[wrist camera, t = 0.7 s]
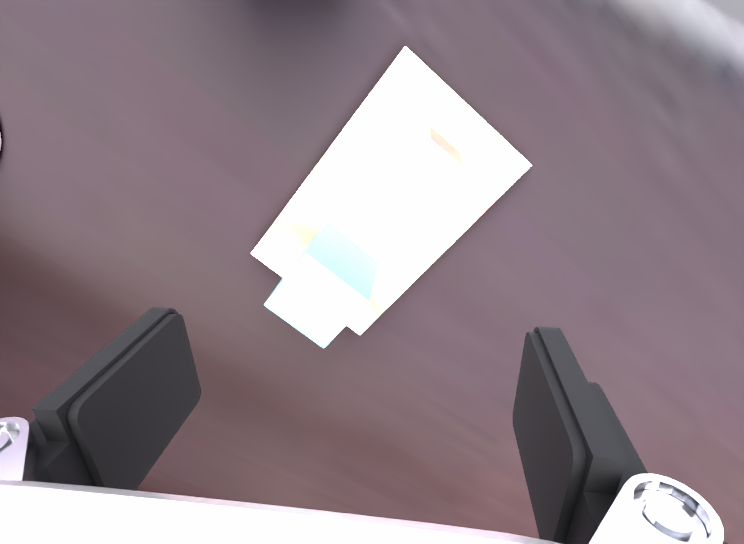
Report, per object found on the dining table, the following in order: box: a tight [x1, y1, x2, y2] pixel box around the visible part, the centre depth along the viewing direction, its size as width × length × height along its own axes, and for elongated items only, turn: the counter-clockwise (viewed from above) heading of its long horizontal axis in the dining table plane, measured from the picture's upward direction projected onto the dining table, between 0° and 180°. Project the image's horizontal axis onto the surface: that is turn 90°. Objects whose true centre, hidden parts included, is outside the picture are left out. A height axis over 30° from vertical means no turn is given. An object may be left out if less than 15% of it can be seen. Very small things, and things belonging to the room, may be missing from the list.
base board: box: [251, 46, 532, 335], centre depth 33 cm, size 20×12×2 cm, turn 141°
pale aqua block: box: [264, 221, 379, 348], centre depth 32 cm, size 5×5×7 cm
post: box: [398, 125, 467, 207], centre depth 27 cm, size 3×3×7 cm
